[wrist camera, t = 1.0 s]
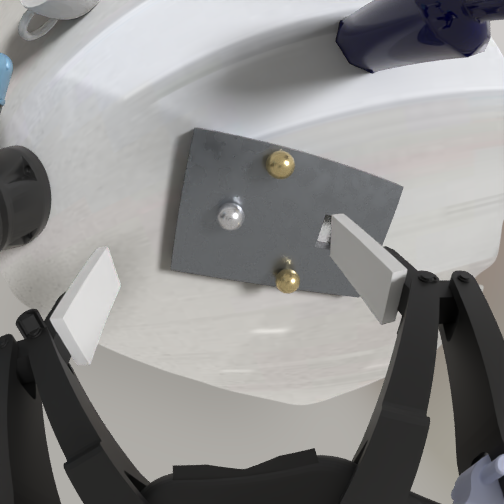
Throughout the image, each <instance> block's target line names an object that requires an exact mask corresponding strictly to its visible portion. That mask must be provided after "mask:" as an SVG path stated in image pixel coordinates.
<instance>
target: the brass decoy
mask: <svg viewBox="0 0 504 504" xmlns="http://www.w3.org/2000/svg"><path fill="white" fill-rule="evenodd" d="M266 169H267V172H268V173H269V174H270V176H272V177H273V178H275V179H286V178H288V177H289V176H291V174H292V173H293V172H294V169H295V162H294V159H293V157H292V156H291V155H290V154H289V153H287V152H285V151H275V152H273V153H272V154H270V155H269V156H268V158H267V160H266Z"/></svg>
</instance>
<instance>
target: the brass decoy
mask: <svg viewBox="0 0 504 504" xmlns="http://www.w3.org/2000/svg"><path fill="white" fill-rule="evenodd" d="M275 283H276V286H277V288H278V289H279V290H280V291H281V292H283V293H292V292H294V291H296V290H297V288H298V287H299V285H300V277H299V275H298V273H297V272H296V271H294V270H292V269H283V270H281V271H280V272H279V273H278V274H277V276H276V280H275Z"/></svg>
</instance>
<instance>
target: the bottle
mask: <svg viewBox="0 0 504 504" xmlns="http://www.w3.org/2000/svg"><path fill="white" fill-rule="evenodd" d="M503 19H504V0H373V1H372V2H370V3H369V4H367V5H365V6H364V7H362V8H361V9H359V10H357V11H356V12H354V13H353V14H351V15H350V16H348V17H347V18H345V19H344V20H341V21H340V23H339V28H338V33H337V37H336V43H337V44H338V46H339V47H340V49H341V51H342V52H343V54H344V55H345V57H346V59H347V60H348V62H349V64H352V65H354V66H357V67H359V68H361V69H363V70H366V71H368V72H370V73H375V72H377V71H381V70H385V69H390V68H395V67H400V66H405V65H411V64H417V63H423V62H430V61H437V60H445V59H454V58H464V57H469V56H472V55H475V54H478V53H481V52H484V51H485V49H486V47H487V44H488V42H489V40H490V21H491V20H503Z"/></svg>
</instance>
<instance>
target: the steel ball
mask: <svg viewBox="0 0 504 504" xmlns="http://www.w3.org/2000/svg"><path fill="white" fill-rule="evenodd" d="M216 219H217V223H218V224H219V226H220V227H221V228H222V229H224V230H227V231H234V230H237V229H238V228H240V227H241V226H242V224H243V222H244V219H245V215H244V211H243V209H242V208H241V207H240V206H239V205H237V204H235V203H226V204H224V205H222V206H221V207H220V208H219V209H218V211H217V215H216Z"/></svg>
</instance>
